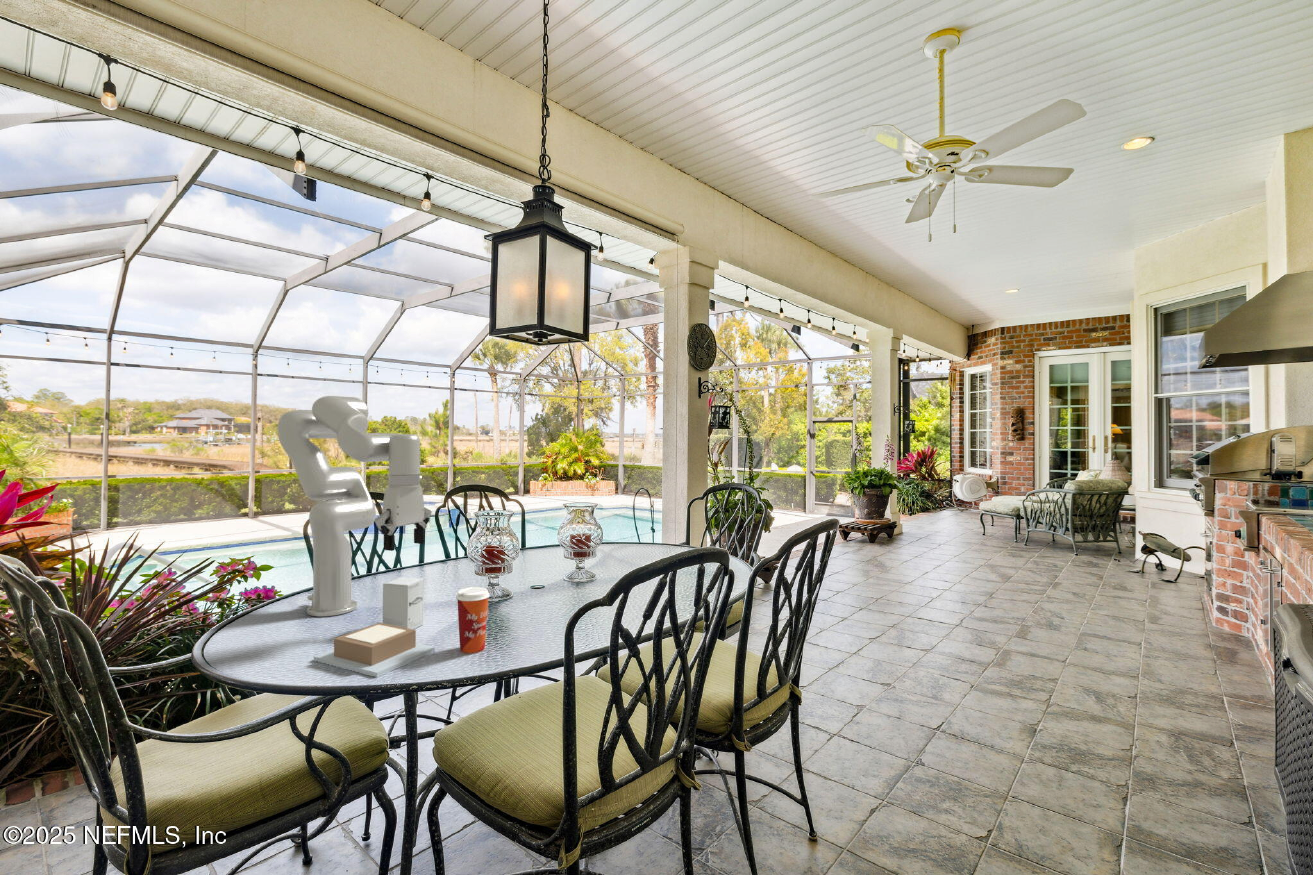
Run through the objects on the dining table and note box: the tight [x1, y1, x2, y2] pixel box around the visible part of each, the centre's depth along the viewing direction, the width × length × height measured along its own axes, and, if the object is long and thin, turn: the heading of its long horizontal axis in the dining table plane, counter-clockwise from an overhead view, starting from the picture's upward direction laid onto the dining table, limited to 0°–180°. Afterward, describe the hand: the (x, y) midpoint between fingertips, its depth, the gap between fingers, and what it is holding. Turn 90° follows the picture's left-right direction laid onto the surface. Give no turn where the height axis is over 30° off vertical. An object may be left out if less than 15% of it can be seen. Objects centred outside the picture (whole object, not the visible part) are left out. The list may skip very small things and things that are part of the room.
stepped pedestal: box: [313, 622, 436, 678], centre depth 133 cm, size 20×16×5 cm
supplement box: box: [382, 576, 425, 630], centre depth 151 cm, size 7×7×13 cm
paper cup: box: [455, 586, 490, 655], centre depth 138 cm, size 8×8×14 cm
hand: (404, 546), depth 151 cm, fingers open, 9 cm apart
